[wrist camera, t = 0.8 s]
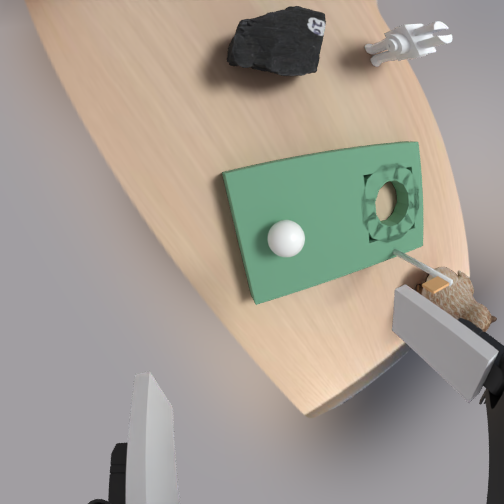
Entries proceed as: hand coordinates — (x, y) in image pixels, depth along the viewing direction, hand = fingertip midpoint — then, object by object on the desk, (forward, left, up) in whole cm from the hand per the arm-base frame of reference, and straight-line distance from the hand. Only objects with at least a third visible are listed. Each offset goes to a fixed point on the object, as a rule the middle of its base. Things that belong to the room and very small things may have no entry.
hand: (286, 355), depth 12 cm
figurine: (+15, +28, -19) cm, 37 cm away
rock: (-19, +9, -19) cm, 28 cm away
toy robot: (-19, +23, -19) cm, 35 cm away
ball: (0, +5, -14) cm, 15 cm away
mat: (0, +13, -19) cm, 23 cm away
